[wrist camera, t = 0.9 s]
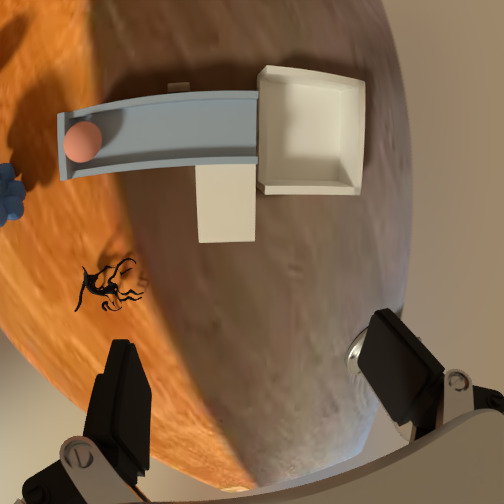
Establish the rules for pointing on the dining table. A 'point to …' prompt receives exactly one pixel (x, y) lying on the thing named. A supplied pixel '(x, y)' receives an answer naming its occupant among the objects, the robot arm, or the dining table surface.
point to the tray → (309, 132)
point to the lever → (181, 150)
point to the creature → (90, 285)
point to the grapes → (10, 194)
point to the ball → (82, 141)
